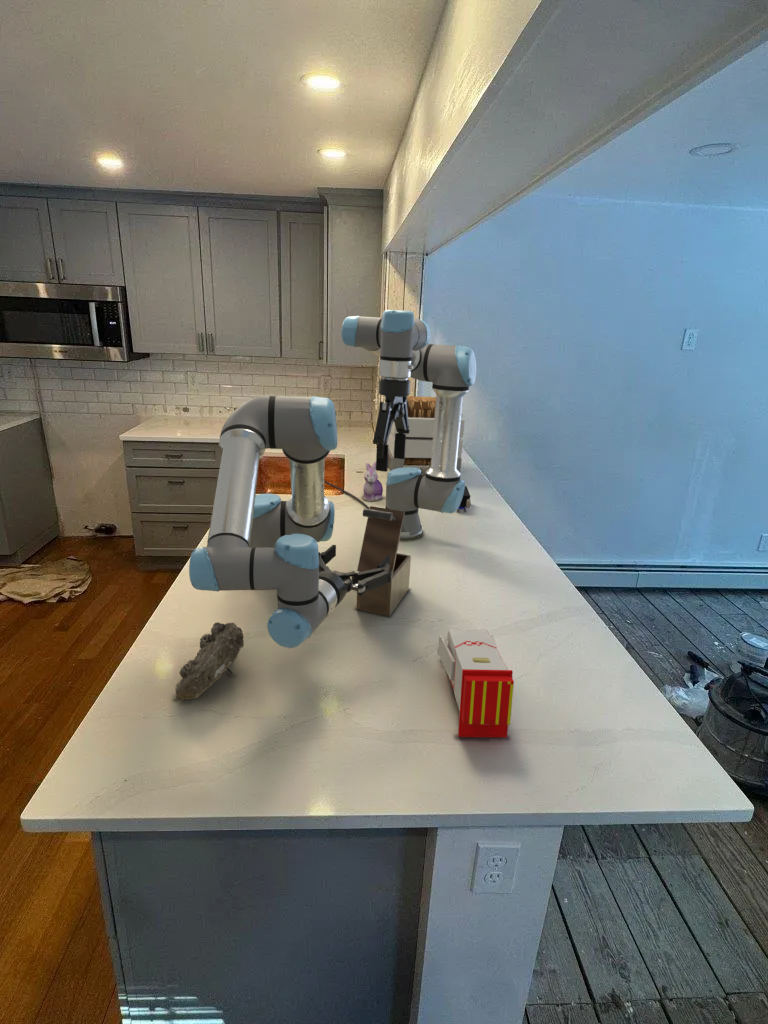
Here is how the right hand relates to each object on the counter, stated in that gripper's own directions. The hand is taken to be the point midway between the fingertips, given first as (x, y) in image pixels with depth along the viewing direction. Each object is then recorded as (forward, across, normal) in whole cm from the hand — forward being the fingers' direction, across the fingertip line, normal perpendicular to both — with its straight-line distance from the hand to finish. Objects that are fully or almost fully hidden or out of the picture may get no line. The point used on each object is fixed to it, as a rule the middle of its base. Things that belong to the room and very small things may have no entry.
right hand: (390, 464), depth 143 cm
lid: (+19, -5, 0) cm, 20 cm away
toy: (+38, -31, -30) cm, 58 cm away
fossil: (+38, -46, +22) cm, 64 cm away
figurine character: (+38, +84, -3) cm, 92 cm away
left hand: (+17, -19, 0) cm, 26 cm away
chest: (+38, -1, 0) cm, 38 cm away
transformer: (+38, +125, +27) cm, 133 cm away
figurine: (+38, +79, +34) cm, 94 cm away
